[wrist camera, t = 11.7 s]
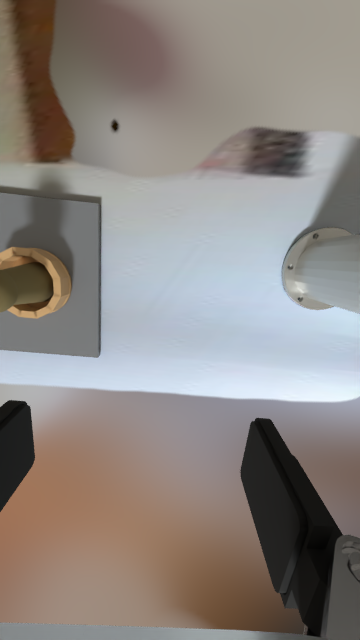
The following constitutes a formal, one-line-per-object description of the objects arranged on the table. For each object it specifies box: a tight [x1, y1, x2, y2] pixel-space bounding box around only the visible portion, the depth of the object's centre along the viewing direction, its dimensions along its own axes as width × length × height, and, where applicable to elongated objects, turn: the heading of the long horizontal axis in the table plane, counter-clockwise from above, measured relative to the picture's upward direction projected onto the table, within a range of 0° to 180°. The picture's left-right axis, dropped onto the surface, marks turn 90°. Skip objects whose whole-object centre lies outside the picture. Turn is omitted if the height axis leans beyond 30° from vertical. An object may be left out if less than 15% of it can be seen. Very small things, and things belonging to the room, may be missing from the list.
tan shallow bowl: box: [0, 247, 72, 319], centre depth 33 cm, size 10×10×3 cm
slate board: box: [0, 193, 100, 358], centre depth 35 cm, size 18×24×1 cm
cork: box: [0, 262, 54, 313], centre depth 28 cm, size 6×6×11 cm
